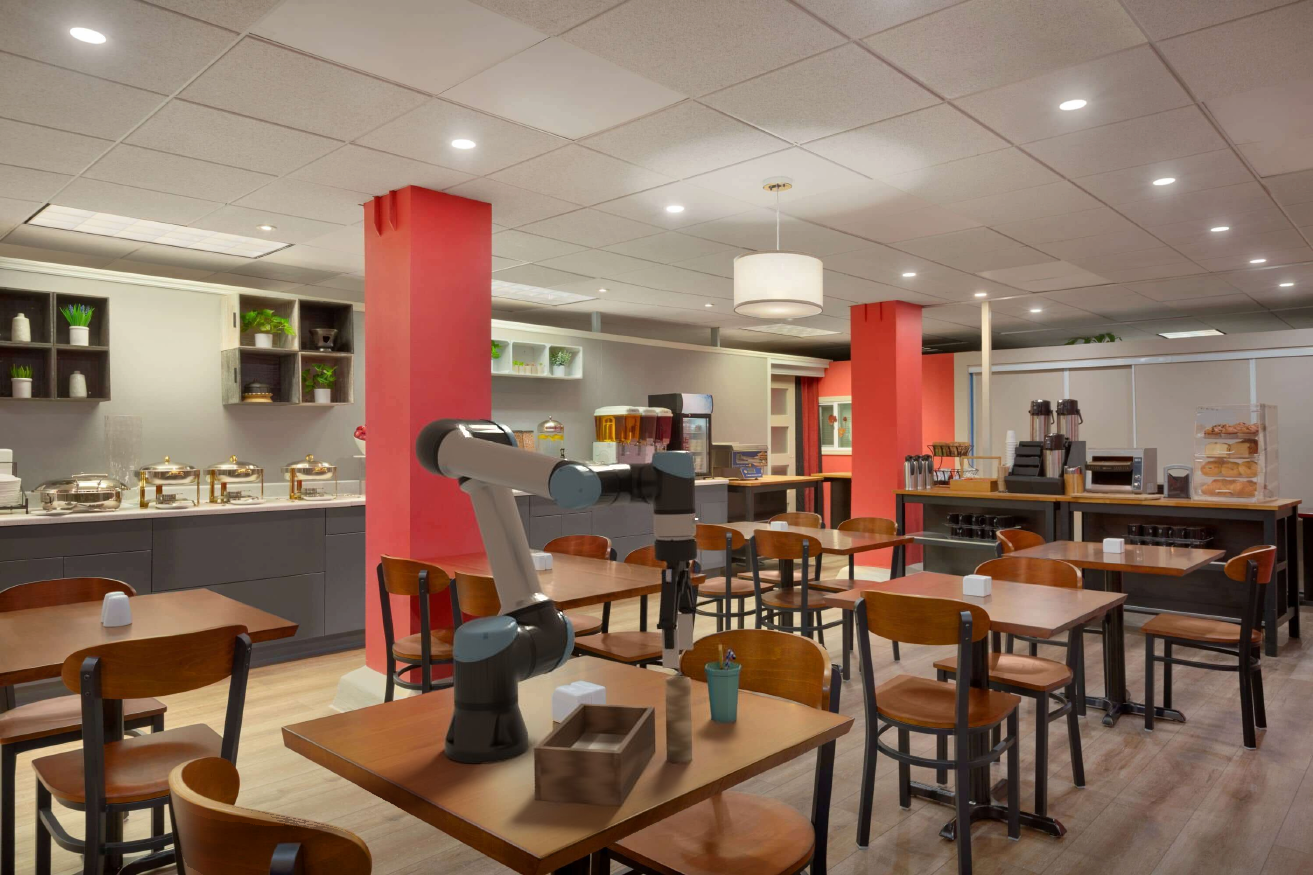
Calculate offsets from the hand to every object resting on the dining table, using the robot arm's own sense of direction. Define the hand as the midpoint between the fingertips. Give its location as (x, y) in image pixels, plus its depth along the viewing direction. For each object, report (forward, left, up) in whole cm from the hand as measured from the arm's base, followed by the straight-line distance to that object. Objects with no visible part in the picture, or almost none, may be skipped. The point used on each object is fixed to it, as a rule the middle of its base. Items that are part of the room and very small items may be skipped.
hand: (678, 658), depth 146 cm
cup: (+5, +23, -18) cm, 30 cm away
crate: (-12, -9, -18) cm, 23 cm away
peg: (0, 0, -18) cm, 18 cm away
